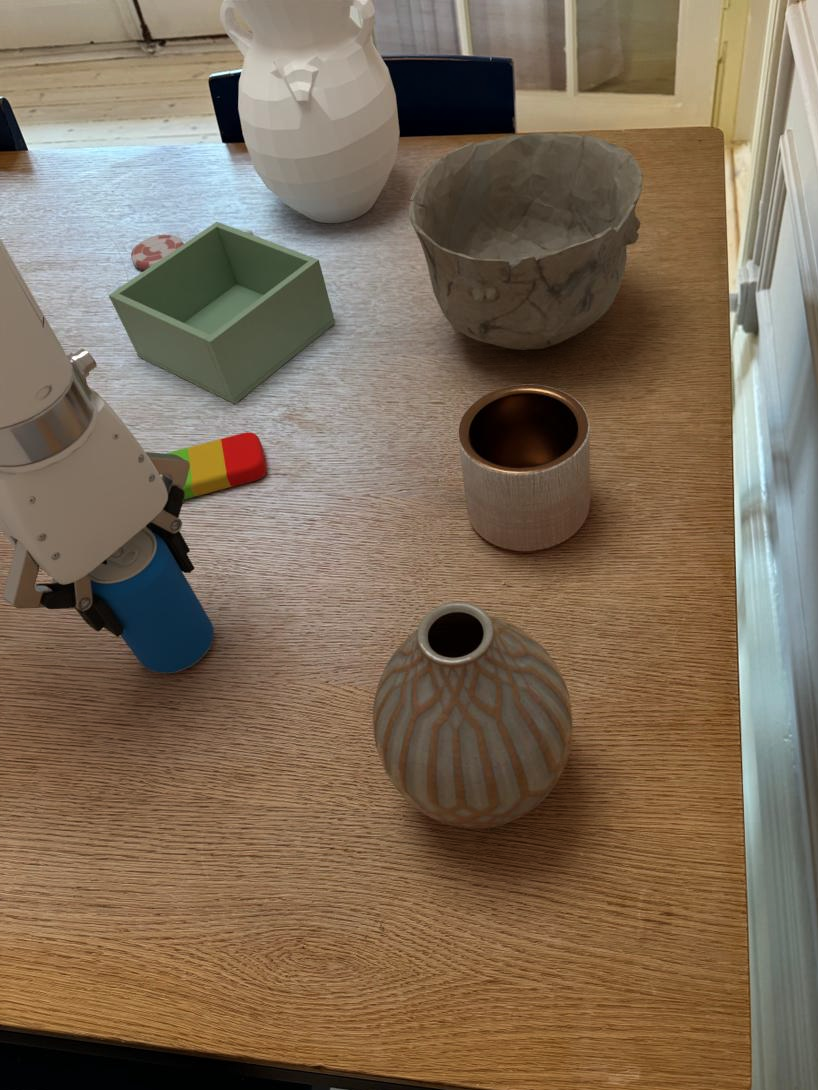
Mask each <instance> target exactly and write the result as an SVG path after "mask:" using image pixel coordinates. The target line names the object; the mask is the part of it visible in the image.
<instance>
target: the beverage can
mask: <svg viewBox="0 0 818 1090" xmlns="http://www.w3.org/2000/svg"><path fill="white" fill-rule="evenodd" d="M90 578H91V587H92V593H94V594H95V595H96V596H98V597H99V598H101V599H102V600H103V601H104V602H105V603H106V605H107V606H108V608H109V609H110V610H111V612H112V613H113V614H114V616H115V617H116V619H117V620H118V621H119V623H120V624H121V626H122V627H123V628H124V630H123V633H122V634H121V635H120V636H119V637H121V638H122V640H123V641H124V643H125V644H126V645H127V647H128V648H129V649H130V651H131V652H132V653H133V655H134V656H135V658H136V659H137V660H138V662H139V663H140V664H141V666H142V667H144V668H145V669H147V670H149V671H150V672H153V673H158V674H173V673H178V672H181V671H183V670H186V669H188V668H190V667H192V666H194V665H195V664H196V663H198V662H200V660H201V659H202V658H203V657H204V656H205V655H206V654H207V653H208V651H209V650H210V648H211V646H212V644H213V640H214V635H215V632H214V631H215V630H214V626H213V623H212V621H211V619H210V617H209V615H208V613H207V612H206V610H205V609H204V607H203V606H202V603H201V602H200V600H199V598H198V596H197V595H196V593H195V591H194V590H193V587H192V586H191V584H190V583H189V581H188V579H187V577H186V576H185V573H184V572H183V571H181V569H180V567H179V565H178V564H177V562H176V560H175V558H174V557H173V555H172V553H171V552H170V550H169V548H168V546H167V545H166V543H165V542H164V540H163V539H162V538H161V537H160V536H158V535H157V534H155V533H153V532H151V531H150V530H149V529H148V528H147V527H146V526H145V527H144V528H142V529H141V530H140V531H139V532H138V533H137V534H135V535H134V536H133V537H132V538H131V539H130V540H128V541H127V542H126V543H125V544H124V545H122V546H121V547H120V548H119V549H118V550H116V551H115V552H114V553H113V554H112V555H111V556H109V557H108V558H107V559H106V560H104V561H103V562H102V563H101V564H100V565H98V566H97V567H96V568H95V569H93V570H92V571H91V572H90Z"/></svg>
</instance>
